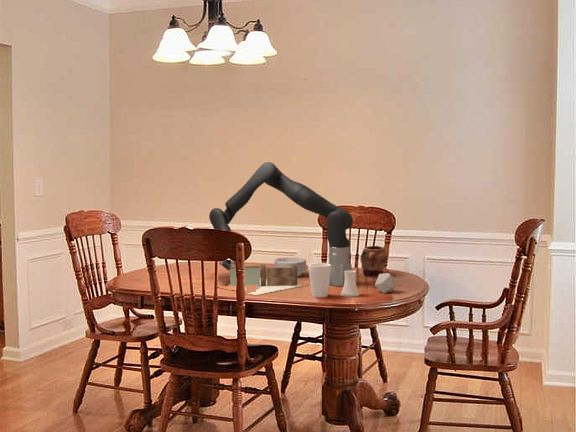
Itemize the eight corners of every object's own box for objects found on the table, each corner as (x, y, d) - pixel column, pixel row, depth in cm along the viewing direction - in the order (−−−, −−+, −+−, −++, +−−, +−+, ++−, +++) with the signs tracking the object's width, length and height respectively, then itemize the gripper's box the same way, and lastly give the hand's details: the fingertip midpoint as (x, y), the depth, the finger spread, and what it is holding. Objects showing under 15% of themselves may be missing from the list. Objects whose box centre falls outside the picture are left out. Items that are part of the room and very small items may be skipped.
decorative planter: (384, 280, 320) (385, 250, 318) (358, 279, 322) (358, 249, 321) (387, 272, 339) (387, 244, 338) (362, 272, 341) (362, 244, 340)
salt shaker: (362, 294, 288) (362, 270, 287) (352, 297, 282) (352, 273, 281) (348, 292, 293) (348, 269, 292) (337, 295, 287) (337, 271, 286)
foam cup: (312, 298, 281) (311, 267, 279) (305, 294, 289) (305, 263, 288) (334, 297, 283) (334, 265, 282) (327, 293, 292) (326, 262, 291)
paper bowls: (306, 278, 326) (306, 261, 325) (274, 278, 326) (273, 262, 325) (306, 273, 341) (306, 257, 340) (275, 273, 341) (275, 257, 340)
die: (387, 290, 299) (374, 273, 298) (403, 282, 294) (389, 265, 293) (381, 300, 293) (368, 283, 292) (397, 293, 288) (383, 275, 286)
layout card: (302, 286, 307) (302, 285, 307) (255, 295, 287) (255, 294, 287) (262, 279, 325) (262, 278, 325) (216, 287, 306) (216, 286, 306)
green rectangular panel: (259, 284, 308) (259, 265, 307) (260, 285, 306) (259, 265, 306) (230, 285, 306) (230, 266, 305) (230, 286, 304) (230, 266, 304)
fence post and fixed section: (297, 284, 309) (297, 264, 308) (297, 285, 306) (297, 265, 305) (260, 285, 309) (260, 264, 308) (260, 286, 306) (260, 265, 305)
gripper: (216, 241, 311) (225, 272, 301) (243, 239, 317) (253, 270, 307) (212, 251, 316) (221, 282, 307) (239, 249, 322) (249, 280, 312)
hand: (237, 276), depth 307 cm, fingers closed
